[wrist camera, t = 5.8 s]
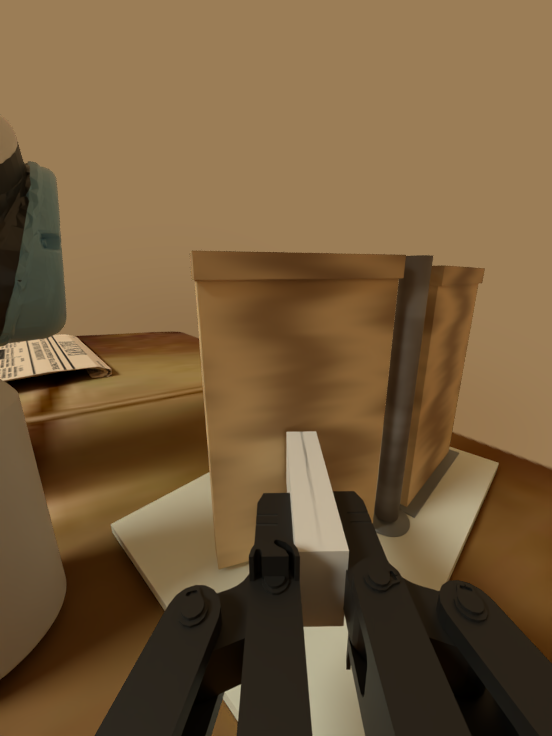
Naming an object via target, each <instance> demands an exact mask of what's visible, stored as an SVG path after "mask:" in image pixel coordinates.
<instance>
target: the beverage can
mask: <svg viewBox="0 0 552 736" xmlns="http://www.w3.org/2000/svg"><path fill="white" fill-rule="evenodd" d="M65 593H66V577H65V573H64V569H63V565H62V561H61V557H60V553H59V550H58V546H57V542H56V538H55V534H54V530H53V526H52V522H51V518H50V515H49V511H48V507H47V503H46V499H45V495H44V491H43V487H42V483H41V480H40V476H39V472H38V468H37V464H36V460H35V456H34V452H33V448H32V445H31V441H30V437H29V433H28V429H27V425H26V421H25V417H24V413H23V410H22V406H21V402H20V398H19V394H18V392H17V391H16V390H15V389H14V388H13V387H11V386H10V385H9V384H7V383H6V382H4V381H3V380H1V379H0V679H2V678H3V677H4V676H5V675H7V674H8V673H9V672H10V671H11V670H12V669H14V668H15V667H16V666H17V665H18V664H19V663H20V662H21V661H22V660H23V659H24V658H25V657H26V656H27V655H28V654H29V653H30V652H31V651H32V650H33V649H34V647H35V646H36V645H37V644H38V643H39V642H40V640H41V639H42V638H43V637H44V635H45V634H46V633H47V631H48V630H49V628H50V627H51V625H52V624H53V622H54V621H55V619H56V617H57V615H58V613H59V611H60V609H61V607H62V604H63V601H64V597H65Z"/></svg>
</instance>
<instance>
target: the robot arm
mask: <svg viewBox="0 0 552 736" xmlns="http://www.w3.org/2000/svg"><path fill="white" fill-rule="evenodd" d="M65 322H66V300H65V286H64V272H63V260H62V249H61V234H60V218H59V205H58V193H57V182H56V177H55V175H54V174H53V172H52V171H50V170H49V169H47V168H44V167H40V166H39V165H38V164H37V163H35V162H28V163H26V164H24V162H23V159H22V156H21V152H20V149H19V145H18V142H17V138H16V135H15V132H14V130H13V128H12V127H11V125H10V124H9V122H8V121H7V120H6V119H5V118H4V117H3V116H2V115H0V346H5V345H6V344H8V343H15V342H23V341H30V340H38V339H45V338H48V337H51V336H53V335H54V334H56V333H58V332H59V331H60V330H61V329H62V328H63V327H64V325H65ZM286 484H287V493H263V495H262V496H261V498H260V500H259V501H258V503H257V516H256V528H255V542H254V546H253V547H252V548H251V551H250V554H249V575H248V576H247V577H246V578H245V579H244V581H242V582H241V583H240V584H238V585H237V586H235V587H233V588H231V589H228V590H225V591H222V592H219V593H216V592H215V591H214V589H212V588H210V587H208V586H206V585H194V586H191V587H188V588H185V589H184V590H182V591H181V592H180V593H178V594H177V595H176V596H175V597H174V598H173V600H172V601H171V602H170V603H169V605H168V607H167V608H166V610H165V612H164V614H163V615H162V617H161V619H160V621H159V623H158V624H157V626H156V628H155V630H154V631H153V633H152V635H151V637H150V639H149V640H148V642H147V644H146V646H145V647H144V649H143V651H142V653H141V654H140V656H139V658H138V660H137V662H136V663H135V665H134V667H133V669H132V670H131V672H130V674H129V676H128V678H127V679H126V681H125V683H124V685H123V686H122V688H121V690H120V692H119V693H118V695H117V697H116V699H115V701H114V702H113V704H112V706H111V708H110V709H109V711H108V713H107V715H106V717H105V718H104V720H103V722H102V724H101V725H100V727H99V729H98V731H97V733H96V734H95V736H211V735H212V731H213V728H214V725H215V722H216V718H217V715H218V712H219V709H220V705H221V702H222V699H223V696H224V692H225V691H228V690H230V689H232V688H234V687H236V686H238V685H241V691H240V703H239V715H238V727H237V736H312V724H311V712H310V700H309V688H308V676H307V664H306V652H305V640H304V628H303V627H326V626H344V615H345V619H346V624H347V629H348V641H347V654H346V670H350V668H352V673H353V678H354V683H355V688H356V693H357V698H358V703H359V708H360V713H361V718H362V723H363V728H364V733H365V736H552V663H551V662H550V661H549V660H548V659H547V658H546V657H545V656H544V655H543V654H542V653H541V652H540V650H539V649H538V648H537V647H536V646H535V645H534V644H533V643H532V642H531V641H530V640H529V639H528V638H527V636H526V635H525V634H524V633H523V632H522V631H521V630H520V629H519V628H518V627H517V626H516V625H515V624H514V622H513V621H512V620H511V619H510V618H509V617H508V616H507V615H506V614H505V613H504V612H503V611H502V610H501V608H500V607H499V606H498V605H497V604H496V603H495V602H494V601H493V600H492V599H491V598H490V597H489V596H488V595H487V594H485V593H484V592H483V591H482V590H481V589H479V588H477V587H475V586H473V585H471V584H470V583H466V582H463V581H459V580H455V581H448V582H446V583H444V584H443V585H442V586H441V589H440V591H437V590H434V589H430V588H427V587H423V586H420V585H417V584H414V583H412V582H410V581H408V580H406V579H405V578H403V577H402V576H401V575H400V573H399V571H398V570H397V569H396V568H394V567H393V566H392V565H391V564H390V563H389V562H388V560H387V558H386V555H385V553H384V550H383V548H382V545H381V543H380V540H379V538H378V535H377V533H376V530H375V528H374V525H373V523H372V521H371V518H370V516H369V514H368V511H367V508H366V506H365V503H364V501H363V500H362V499H361V498H360V497H359V496H358V495H357V494H356V493H355V491H332V487H331V484H330V480H329V477H328V473H327V469H326V466H325V462H324V458H323V455H322V451H321V448H320V444H319V440H318V437H317V433H316V431H304V432H286Z"/></svg>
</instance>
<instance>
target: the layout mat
mask: <svg viewBox="0 0 552 736" xmlns="http://www.w3.org/2000/svg"><path fill="white" fill-rule="evenodd" d="M382 434H383V431H382ZM381 443H382V441H381ZM380 452H381V450H380ZM379 462H380V459H379ZM498 465H499V463H498V462H495V461H492V460H489V459H486V458H483V457H480V456H477V455H474V454H471V453H468V452H465V451H462V450H459V449H456V448H453V447H450V446H449V452H448V453H447V455H446V456H445V457H444V459H443V460H442V461H441V463H440V464H439V465H438V466H437V468H436V469H435V470H434V472H433V473H432V474H431V476H430V477H429V478H428V480H427V481H426V482H425V484H424V485H423V486H422V488H421V489H420V490H419V492H418V493H417V494H416V496H415V497H414V498H413V500H412V501H411V502H410V504H409V505H408V506H407V507H406V506H404V505H401V504H400V507H399V515H398V519H397V520H396V521H394V522H385V521H383V520H381V519H379V518H378V517H377V516H376V515H375V512H374V516H373V525H374V528H375V530H376V533H377V535H378V538H379V540H380V543H381V545H382V548H383V550H384V553H385V555H386V558H387V560H388V562H389V563H390V564H391V565H392V566H393V567H394V568H396V569H397V570H398V571H399V573H400V575H401V576H402V577H403V578H405V579H406V580H408V581H410V582H412V583H414V584H417V585H420V586H423V587H427V588H430V589H434V590H437V591H440V589H441V586H442V585H443V584H444V583H446V582H448V581H449V579H450V577H451V575H452V572H453V570H454V568H455V566H456V563H457V561H458V559H459V556H460V554H461V552H462V550H463V547H464V545H465V543H466V540H467V538H468V536H469V533H470V531H471V529H472V527H473V524H474V522H475V520H476V517H477V515H478V513H479V510H480V508H481V506H482V504H483V501H484V499H485V497H486V494H487V492H488V490H489V488H490V485H491V483H492V481H493V478H494V476H495V474H496V471H497V469H498ZM378 471H379V469H378ZM377 481H378V478H377ZM376 490H377V488H376ZM375 500H376V497H375ZM374 509H375V507H374ZM111 528H112V533H113V534H114V536H115V537H116V539H117V540H118V542H119V543H120V545H121V546H122V548H123V549H124V551H125V552H126V554H127V555H128V557H129V558H130V560H131V561H132V563H133V564H134V566H135V567H136V569H137V570H138V572H139V573H140V575H141V576H142V578H143V579H144V581H145V582H146V584H147V585H148V587H149V588H150V590H151V591H152V593H153V594H154V596H155V597H156V599H157V600H158V602H159V603H160V605H161V606H162V608H163V609H164V611H165V610H166V608H167V607H168V605H169V603H170V602H171V601H172V600H173V598H174V597H175V596H176V595H177V594H178V593H180V592H181V591H182V590H184V589H185V588H188V587H191V586H194V585H206V586H208V587H210V588H212V589H214V591H215V592H216V593H219V592H222V591H225V590H228V589H231V588H233V587H235V586H237V585H238V584H240V583H241V582H242V581H244V579H245V578H246V577H247V576H248V575H249V561H247V562H243V563H240V564H236V565H233V566H229V567H226V568H222V569H218V563H217V556H216V549H215V536H214V523H213V511H212V498H211V485H210V472H209V473H207V474H205V475H203V476H201V477H199V478H197V479H196V480H194V481H192V482H190V483H188V484H186V485H184V486H182V487H180V488H178V489H177V490H175V491H173V492H171V493H169V494H167V495H165V496H163V497H161V498H160V499H158V500H156V501H154V502H152V503H150V504H148V505H146V506H144V507H143V508H141V509H139V510H137V511H135V512H133V513H131V514H129V515H127V516H125V517H124V518H122V519H120V520H118V521H116V522H114V523H112V524H111ZM303 628H304V640H305V652H306V664H307V676H308V688H309V700H310V712H311V724H312V736H365V733H364V728H363V723H362V718H361V713H360V708H359V703H358V698H357V693H356V688H355V683H354V678H353V673H352V668H350V670H346V654H347V641H348V629H347V624H346V619H345V615H344V626H326V627H303ZM240 691H241V685H238V686H236V687H234V688H232V689H230V690H228V691H225V692H224V696H223V700H224V701H225V703H226V704H227V706H228V707H229V709H230V710H231V712H232V713H233V715H234V716H235V718H236V719H237V721H238V715H239V703H240Z"/></svg>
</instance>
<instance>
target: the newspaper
mask: <svg viewBox="0 0 552 736" xmlns="http://www.w3.org/2000/svg"><path fill="white" fill-rule="evenodd" d="M78 369H85V370H86V371H87V372H88V374H89V375H90V376H91V377H92V378H96V377H104V376H106V377H108V376H110V375H112V369H111V368H110V367H108V366H107V365H106V364H105V363H104V362H103V361H102V360H101V359H100V358H99V357H98V356H96V355H95V354H94V353H93V352H92V351H91V350H90V349H89V348H88V347H87V346H86V345H84V344H83V343H82V342H81V341H80V340H79V339H78V338H77V337H75V336H71V335H67V334H66V335H53V336H51V337H48V338H45V339H38V340H30V341H23V342H15V343H8V344H6V345H5V346H0V379H1V380H3V381H4V382H6V383H7V384H8V381H11V380H17V379H22V378H28V377H34V376H39V375H45V374H51V373H57V372H63V371H71V370H78Z"/></svg>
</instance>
